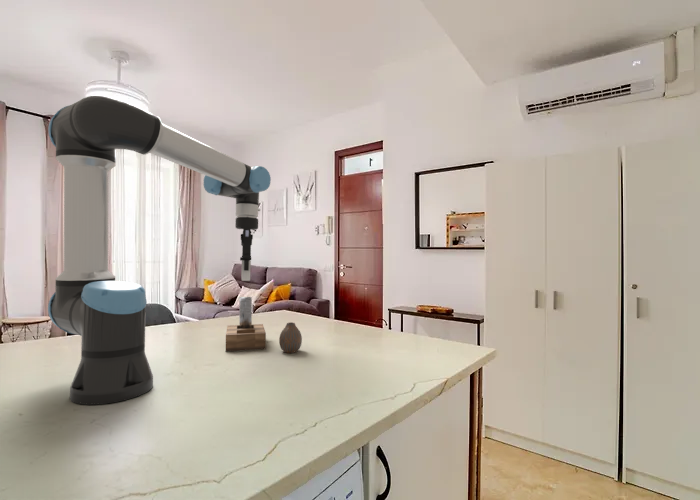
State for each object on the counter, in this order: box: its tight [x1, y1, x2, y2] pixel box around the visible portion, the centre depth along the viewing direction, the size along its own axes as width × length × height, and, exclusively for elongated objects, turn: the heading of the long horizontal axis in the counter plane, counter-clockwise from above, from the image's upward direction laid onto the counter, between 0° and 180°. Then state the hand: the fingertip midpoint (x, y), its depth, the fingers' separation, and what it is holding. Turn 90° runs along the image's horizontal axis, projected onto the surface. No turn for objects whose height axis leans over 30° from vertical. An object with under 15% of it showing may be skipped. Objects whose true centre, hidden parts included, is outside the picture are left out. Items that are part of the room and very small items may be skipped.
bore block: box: [225, 323, 267, 352], centre depth 125 cm, size 16×12×5 cm
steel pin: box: [238, 296, 253, 329], centre depth 128 cm, size 4×4×14 cm
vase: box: [278, 321, 303, 354], centre depth 116 cm, size 7×7×9 cm
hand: (245, 279), depth 128 cm, fingers open, 13 cm apart
